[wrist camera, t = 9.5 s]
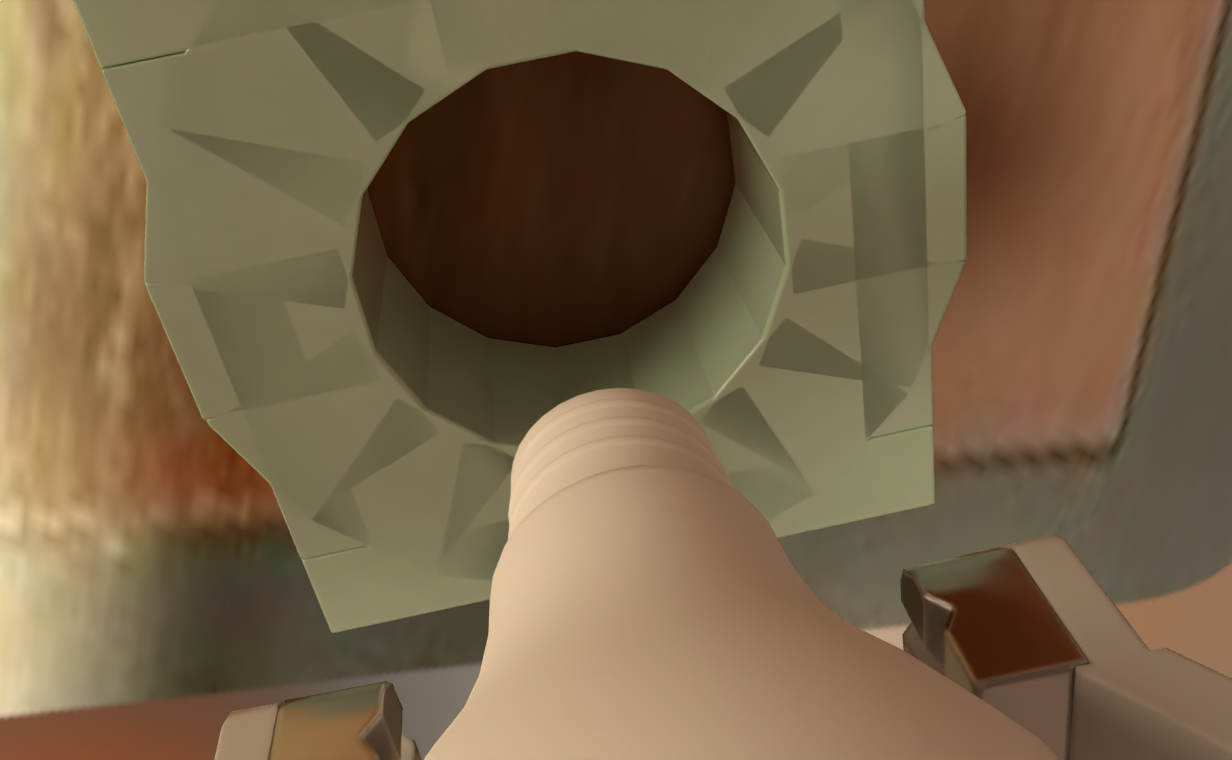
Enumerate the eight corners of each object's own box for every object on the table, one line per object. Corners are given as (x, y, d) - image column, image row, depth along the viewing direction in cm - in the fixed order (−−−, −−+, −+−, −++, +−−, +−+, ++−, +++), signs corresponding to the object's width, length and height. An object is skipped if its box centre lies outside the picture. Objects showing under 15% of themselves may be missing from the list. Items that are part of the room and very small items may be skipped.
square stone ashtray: (74, -114, 18) (-12, -73, 15) (872, -271, 19) (968, -267, 15) (320, 521, 25) (300, 648, 22) (898, 398, 26) (969, 504, 22)
